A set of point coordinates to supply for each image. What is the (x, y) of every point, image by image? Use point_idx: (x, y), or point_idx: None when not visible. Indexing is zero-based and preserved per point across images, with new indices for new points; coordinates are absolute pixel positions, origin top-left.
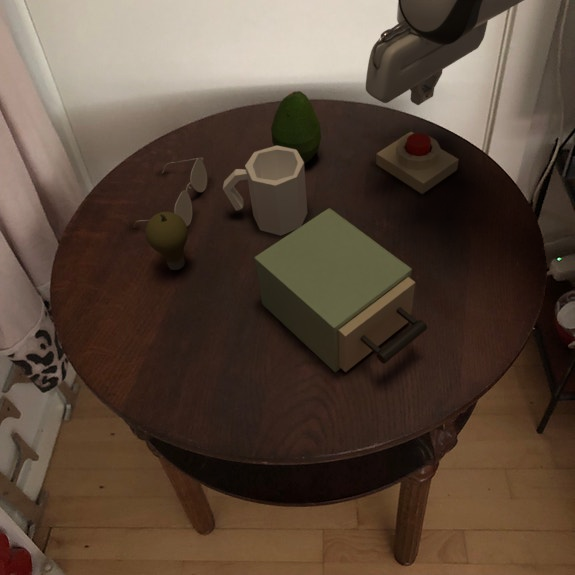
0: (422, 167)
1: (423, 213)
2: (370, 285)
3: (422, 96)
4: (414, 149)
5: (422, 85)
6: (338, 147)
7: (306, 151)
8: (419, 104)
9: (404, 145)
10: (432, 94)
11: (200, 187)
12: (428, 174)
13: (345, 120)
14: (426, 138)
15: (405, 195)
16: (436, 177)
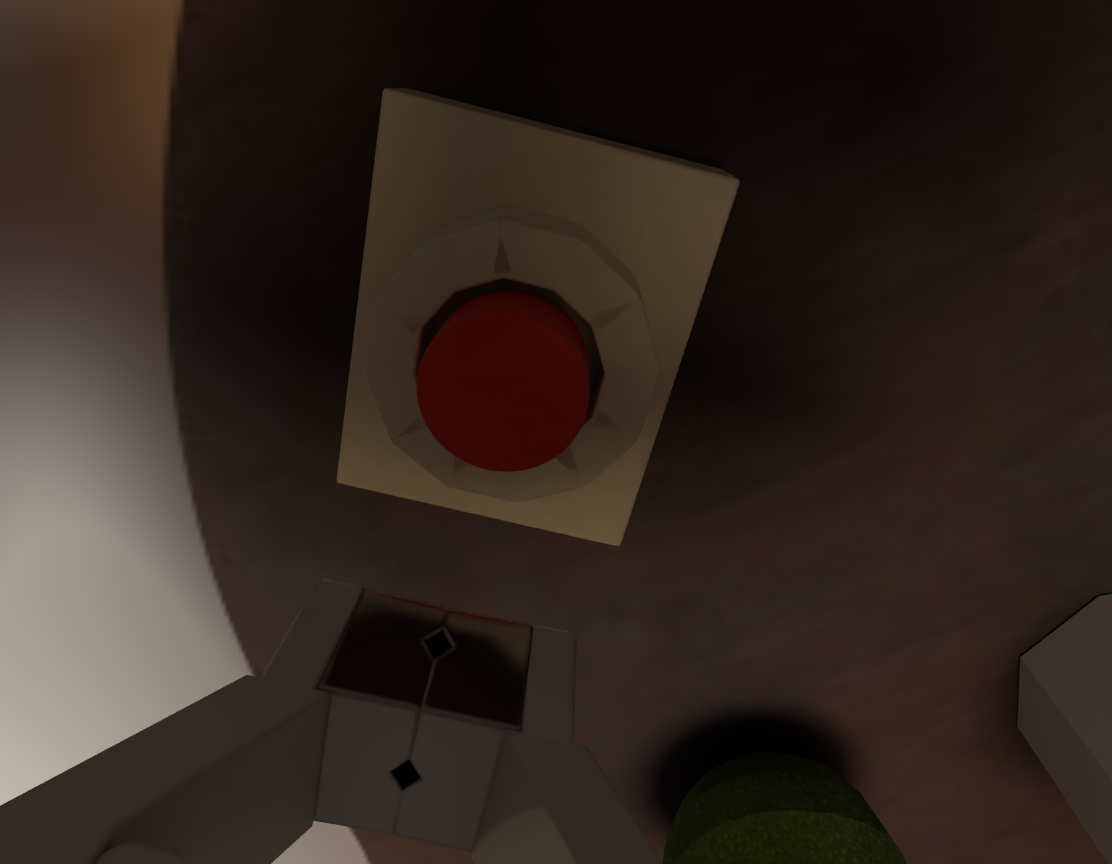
0: (617, 261)
1: (884, 72)
2: None
3: (529, 702)
4: (587, 377)
5: (343, 805)
6: (597, 690)
7: (868, 827)
8: (570, 634)
9: None
10: (327, 603)
11: None
12: (638, 198)
13: None
14: (453, 360)
15: (775, 254)
16: (610, 144)
